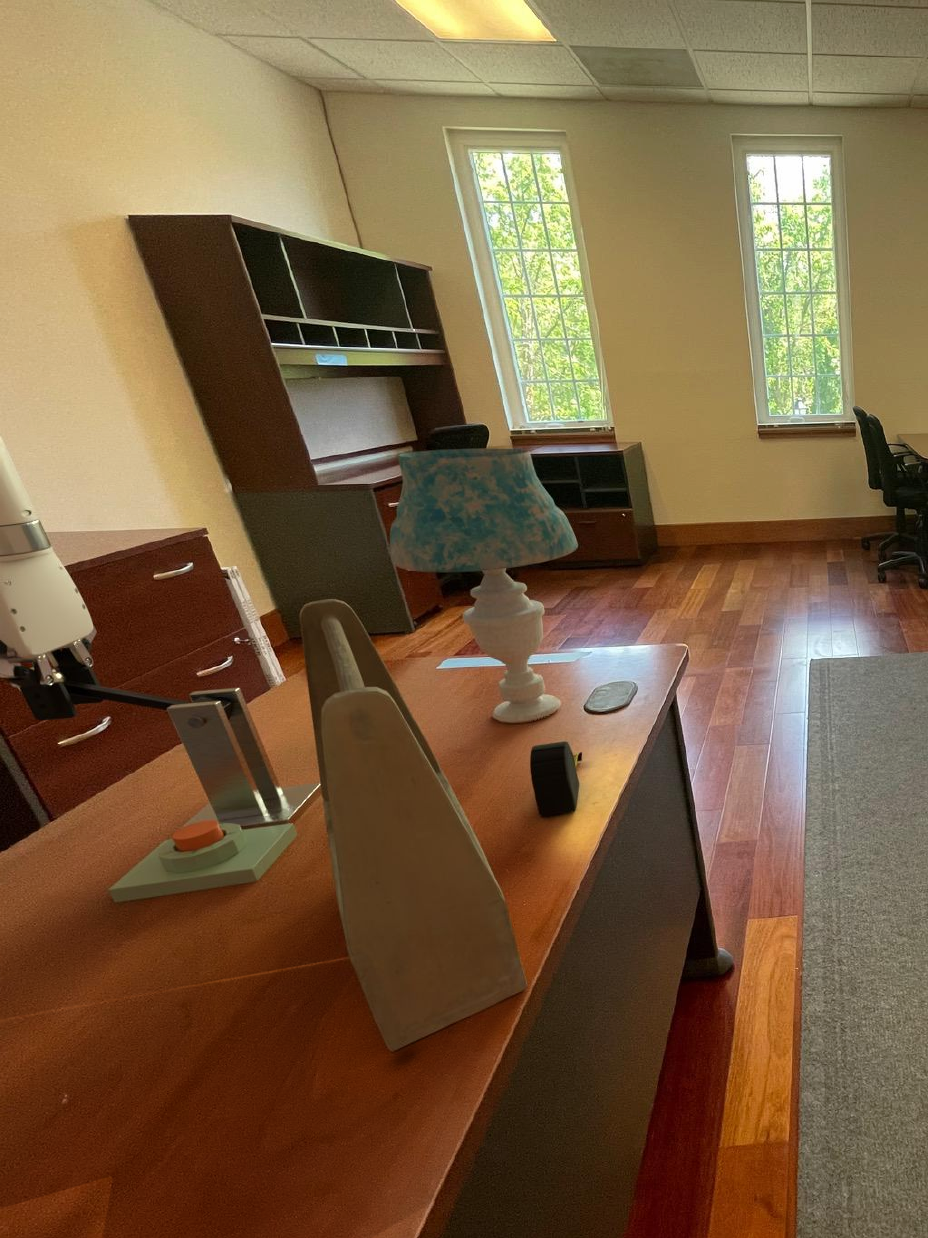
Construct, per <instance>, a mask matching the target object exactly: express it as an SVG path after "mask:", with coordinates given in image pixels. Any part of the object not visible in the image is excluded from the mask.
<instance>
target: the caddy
mask: <svg viewBox="0 0 928 1238" xmlns="http://www.w3.org/2000/svg"><path fill="white" fill-rule="evenodd" d="M299 623H300V632H301V640H302V648H303V649H302V650H303V656H304V666H305V674H306V682H307V683H306V684H307V687H308V688H307V691H308V698H309V704H310V712H311V719H312V726H313V727H312V729H313V735H314V736H313V737H314V742H315V750H316V760H317V766H318V767H317V768H318V775H319V783H320V784H321V797H322V799H323V800H322V803H323V804H322V805H323V811H324V821H325V828H326V829H325V830H326V833H327V844H328V851H329V857H330V863H331V871H332V877H333V882H334V887H335V896H336V902H337V907H338V911H339V917H340V921H341V926H342V930H343V933H344V934H343V935H344V938H345V944H346V950H347V954H348V958H349V961H350V964H351V965H352V967H353V969H354V971H355V974H356V976H357V979H358V982H359V984H360V986H361V989H362V991H363V994H364V997H365V999H366V1001H367V1004H368V1007H369V1009H370V1012H371V1014H372V1017H373V1019H374V1021H375V1022H374V1023H376V1026H377V1028H378V1031H379V1033H380V1036H381V1037H382V1040H383V1041H384V1043H385V1045H386V1047H387V1049H388V1051H390V1052H391V1053H393V1052H395V1051H398V1050H400V1049H402V1048H403V1047H406V1046H408V1045H409V1044H412V1043H414V1042H417V1041H418V1040H421V1039H423V1038H425V1037H428V1036H429V1035H432V1034H434V1033H436V1032H438V1031H441V1030H442V1029H445V1028H446V1027H448V1026H451V1025H452V1024H455V1023H457V1022H459V1021H462V1020H464V1019H467V1018H469V1017H471V1016H473V1015H476V1014H478V1013H480V1012H482V1011H485V1010H486V1009H489V1008H491V1007H492V1006H495V1005H496V1004H499V1003H500V1002H503V1001H504V1000H506V999H508V998H510V997H513V996H514V995H517V994H520V993H522V992H524V991H525V990H526V989H527V988H528V981H527V978H526V974H525V971H524V966H523V963H522V960H521V956H520V954H519V952H520V951H519V949H518V945H517V940H516V937H515V936H516V935H515V933H514V928H513V924H512V920H511V916H510V913H509V908H508V905H507V900H506V898H505V896H504V894H503V891H502V888H501V887H500V885H499V883H498V881H497V879H496V877H495V875H494V873H493V870H492V868H491V866H490V864H489V861H488V858H487V857H486V854H485V852H484V850H483V848H482V846H481V845H482V844H481V843H480V841H479V840H478V837H477V835H476V833H475V831H474V829H473V827H472V825H471V823H470V821H469V819H468V817H467V815H466V813H465V811H464V809H463V807H462V805H461V804H460V802H459V799H458V798H457V796H456V794H455V792H454V790H453V788H452V786H451V784H450V782H449V780H448V778H447V777H446V775H445V773H444V771H443V769H442V768H441V766H440V764H439V762H438V760H437V758H436V756H435V754H434V752H433V750H432V748H431V746H430V745H429V742H428V740H427V739H426V737H425V735H424V733H423V732H422V730H421V729H420V726H419V725H418V722H417V721H416V719H415V717H414V715H413V713H412V712H411V710H410V708H409V706H408V704H407V703H406V701H405V698H404V697H403V695H402V693H401V692H400V690H399V688H398V686H397V684H396V682H395V681H394V679H393V677H392V675H391V673H390V671H389V669H388V668H387V666H386V664H385V662H384V660H383V659H382V656H381V654H380V653H379V651H378V649H377V647H376V646H375V644H374V642H373V641H372V639H371V637H370V635H369V634H368V632H367V630H366V628H365V627H364V625H363V623H362V622H361V619H360V618H359V616H358V615H357V614H356V612H355V611H354V610H353V608H352V607H351V606H350V605H349V604H347V603H346V602H345V601H343V600H339V599H336V598H327V599H320V600H315V601H310V602H308V603H306V604H304V605H303V606H302V608H301V609H300V612H299Z"/></svg>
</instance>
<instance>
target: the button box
mask: <svg viewBox="0 0 928 1238" xmlns="http://www.w3.org/2000/svg"><path fill="white" fill-rule="evenodd" d="M219 826H220V828H221V830H222V832H223V835H224V837H223V838H222V839H221V840H220V841H218V842H216V843H214V844H212V845H210V846H207V847H204V848H201V849H198V850H194V851H187V852H180V851H179V850H178V848H177V846H176V844H175V842H174V840H173V838H171V839H165V840H163V841H162V842H161V843H160V844H159V845H158V846H157V847H155V848H154V849H153V850H152V851H151V852H150V853H148V854H147V855H146V856H145V857H144V858H143V859H142V860H140V861H139V862H138V863H136V865H135V866H133V867H132V868H131V869H130V870H129V871H128V872H127V873H126V874H124V875H123V876H122V877H121V878H120V879H118V881H116V882H115V883H114V884H113V885H112V886H111V887H109V888H108V893H109V894H110V897H111V898H112V900H113V902H114V903H122V902H129V901H136V900H142V899H150V898H155V897H163V896H169V895H176V894H183V893H189V892H195V891H202V890H208V889H216V888H222V887H229V886H235V885H241V884H248V883H255V882H256V883H257V882H258V881H259V880H260V879H261V878H262V877H263V876H264V874H265V873H266V872H268V870H269V869H270V867H271V866H273V864H274V863H275V862H276V861H277V859H278V858H279V857H280V856H281V855H282V854H283V853H284V851H286V849H287V848H288V846H289V845H291V843H292V842H293V841H294V840H295V839H296V838H297V836H298V833H297V830H296V827H295V824H294V825H293V823H290V824H283V825H275V826H268V827H260V828H253V829H245V830H242V829H241V827H240V825H237V824H231V823H222V824H219Z"/></svg>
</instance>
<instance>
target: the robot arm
mask: <svg viewBox="0 0 928 1238" xmlns="http://www.w3.org/2000/svg"><path fill="white" fill-rule="evenodd" d="M97 632H98V631H97V629H96V627H95V626H94V624H93V619H92V617H91V614H90V612H89V610H88V607H87V605H86V603H85V601H84V599H83V597H82V595H81V593H80V591H79V589H78V587H77V585H76V584H75V581H73V579H72V577H71V575H70V573H69V572H68V571H67V569H66V568H65V566H64V564H63V563H62V561H61V560H60V559H59V557H58V555H57V553H55V550H54V548H53V546H52V544H51V542H50V540H49V538H48V535H47V533H46V531H45V528H44V527H43V524H42V522H41V520H40V519H39V516H38V514H37V511H36V509H35V507H34V505H33V503H32V501H31V499H30V496H29V494H28V491H27V490H26V488H25V486H24V483H23V481H22V478H21V477H20V475H19V472H18V470H17V468H16V465H15V463H14V461H13V459H12V457H11V455H10V453H9V450H8V448H7V446H6V443H5V442H4V439H3V438H2V435H1V434H0V678H1V679H2V680H5V681H6V682H9V684H10V685H11V686H12V688H15V689H18V687H19V688H20V690H21V691H20V690H19V691H20V692H21V694H22V696H23V698H24V700H25V702H26V704H27V706H28V708H29V709H30V711H31V713H32V715H33V717H34V719H35V720H37V721H51V720H52V721H53V720H65V719H72V718H74V717H76V716H78V711H77V709H76V706H75V705H85V704H86V705H87V704H98V703H99V704H100V703H102V702H104V701H105V700H104V699H98V698H92V697H87V696H81V695H75V694H69V693H68V692H67V690H66V688H65V686H64V684H63V682H55V678H54V675H53V673H52V670H51V668H52V667H53V668H54V669H56V670H58V671H60V672H61V673H62V674H63V675H64V676H65V678H66V680H68V681H74V682H80V683H85V684H91V685H96V686H101V685H100V683H99V681H98V678H97V676H96V674H95V672H94V669H93V666H94V659H93V657H92V655H91V649H92V642H93V641H94V638H95V636H96V635H97ZM25 663H31V665H32V667H34V670H33V669H31V668H32V667H28V666H27V665H22V664H25ZM50 663H51V665H52V667H51V665H50Z"/></svg>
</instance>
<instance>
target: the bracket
mask: <svg viewBox="0 0 928 1238" xmlns="http://www.w3.org/2000/svg"><path fill="white" fill-rule="evenodd" d="M188 696H189V698H190V700H191V702H193V701H195V700H196V699H198V698H200V697H201V696H202V697H208V698H213V699H219V700H224V701H230V702H232V706H231V715H230V720H229V721H228V718H227V716H226V714H225V711H224V709H223V707H222V704H221V702H220V701H212V702H201V703H190V704H179V705H172V706H170V707H168V708H167V710H166V712H168V715H169V717H170V720H171V721H172V723H173V726H174V728H175V730H176V732H177V734H178V737H179V739H180V741H181V743H182V745H183V747H184V749H185V752H186V754H187V757H188V758H189V760H190V763H191V764H192V767H193V769H194V771H195V774H196V775H197V777H198V779H199V782H200V784H201V786H202V788H203V791H204V793H205V796H206V797H207V800H208V803H207V804H206V805H205V806H204V807H202V808H201V809H200V810H199V811H198V812H197V813H196V814H194V815H193V816H192V817H191V818H190V819H189V820H187V822H186V823H184V824H183V825H182V826H181V827H179V829H181V828H183V827H185V826H187V825H190V824H193V823H196V822H201V821H208V820H213V821H217V822H218V824H222V823H231V824H237V825H240V827H241V829H242V830H245V829H253V828H260V827H268V826H275V825H283V824H290V823H293V825H294V826H295V824H296V823H297V821H299V819H300V818H301V817H302V816H303V815H304V814H305V812H306V811H307V810H308V809H309V808H310V807H311V806H312V804H314V802H316V800H317V799H318V798H319V797H320V796H321V795H322V793H321V784H320V782H314V783H307V784H299V785H290V786H281V785H280V783H279V780H278V778H277V776H276V773H275V770H274V767H273V766H272V763H271V760H270V758H269V756H268V754H267V751H266V749H265V746H264V744H263V741H262V739H261V736H260V734H259V732H258V729H257V726H256V725H255V721H254V719H253V717H252V715H251V712H250V709H249V708H248V704H247V702H246V700H245V697H244V696H243V694H242V690H241V688H240V687H232V688H230V687H229V688H219V689H208V690H207V689H206V690H198V691H197V690H196V691H192V692H191V693H189V695H188Z"/></svg>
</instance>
